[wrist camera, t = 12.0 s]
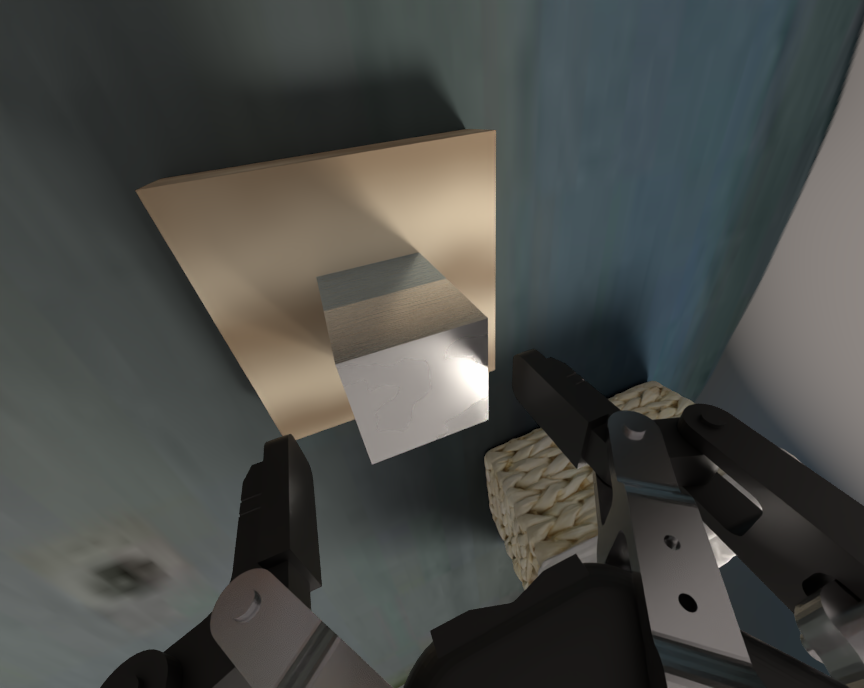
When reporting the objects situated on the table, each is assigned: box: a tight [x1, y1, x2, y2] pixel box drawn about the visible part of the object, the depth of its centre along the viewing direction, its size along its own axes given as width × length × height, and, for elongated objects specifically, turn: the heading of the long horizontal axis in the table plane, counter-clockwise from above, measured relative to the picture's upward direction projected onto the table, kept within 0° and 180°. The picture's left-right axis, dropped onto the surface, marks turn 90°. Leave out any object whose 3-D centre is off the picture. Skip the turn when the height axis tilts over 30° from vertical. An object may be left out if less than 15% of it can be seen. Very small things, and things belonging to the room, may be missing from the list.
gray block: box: [316, 252, 489, 464], centre depth 15 cm, size 5×6×7 cm
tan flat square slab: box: [135, 129, 496, 440], centre depth 18 cm, size 14×14×3 cm
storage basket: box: [484, 381, 800, 590], centre depth 33 cm, size 24×16×15 cm
